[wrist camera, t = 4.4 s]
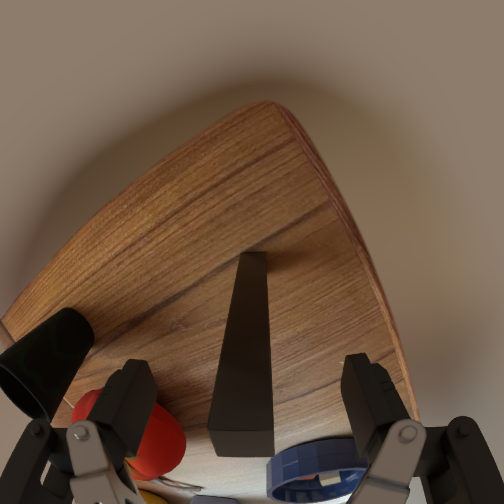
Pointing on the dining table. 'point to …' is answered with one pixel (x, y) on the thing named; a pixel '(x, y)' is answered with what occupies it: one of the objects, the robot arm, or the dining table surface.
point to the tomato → (147, 440)
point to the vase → (152, 498)
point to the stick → (245, 369)
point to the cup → (45, 363)
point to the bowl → (212, 500)
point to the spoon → (159, 481)
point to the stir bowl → (315, 471)
